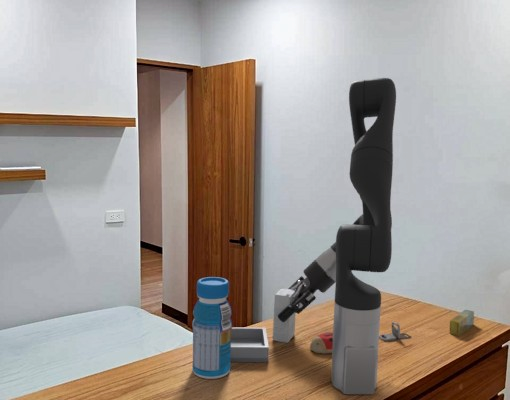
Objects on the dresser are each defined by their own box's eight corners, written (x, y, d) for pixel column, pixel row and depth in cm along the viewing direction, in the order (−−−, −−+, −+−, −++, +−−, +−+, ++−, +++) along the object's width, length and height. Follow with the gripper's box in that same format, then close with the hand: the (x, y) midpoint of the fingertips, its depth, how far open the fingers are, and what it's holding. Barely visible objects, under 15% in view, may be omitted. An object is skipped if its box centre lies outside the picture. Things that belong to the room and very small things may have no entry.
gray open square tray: (268, 362, 111) (268, 347, 110) (215, 361, 110) (215, 346, 110) (265, 341, 123) (265, 327, 122) (217, 340, 122) (217, 327, 122)
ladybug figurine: (303, 348, 120) (304, 334, 119) (335, 340, 125) (335, 327, 124) (321, 358, 114) (321, 343, 113) (353, 350, 119) (353, 336, 119)
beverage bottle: (195, 382, 100) (196, 287, 98) (188, 364, 108) (189, 276, 106) (235, 378, 103) (237, 285, 100) (226, 360, 111) (227, 274, 109)
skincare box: (279, 332, 128) (280, 287, 127) (295, 335, 127) (297, 289, 126) (271, 341, 123) (273, 293, 121) (289, 343, 121) (290, 296, 120)
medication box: (464, 322, 140) (464, 309, 139) (474, 325, 138) (474, 311, 138) (449, 334, 131) (449, 319, 130) (459, 337, 129) (460, 322, 129)
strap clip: (384, 343, 124) (385, 326, 124) (377, 338, 127) (378, 322, 126) (412, 339, 127) (413, 323, 127) (404, 334, 130) (405, 319, 129)
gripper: (311, 252, 130) (266, 295, 131) (321, 266, 116) (270, 313, 116) (330, 272, 131) (285, 314, 132) (342, 288, 116) (292, 335, 117)
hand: (278, 314), depth 124 cm, fingers closed on skincare box, 7 cm apart
